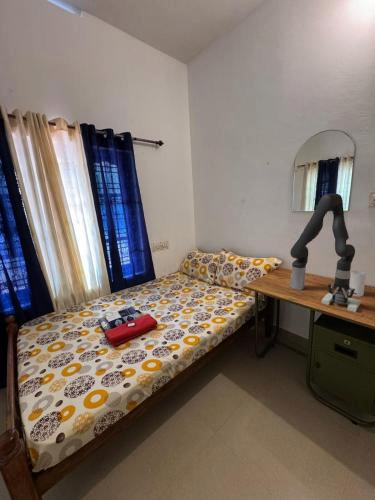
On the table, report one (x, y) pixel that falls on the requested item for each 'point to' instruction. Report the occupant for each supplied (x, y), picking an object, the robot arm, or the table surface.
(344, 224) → the robot arm
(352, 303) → the board
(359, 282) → the cup
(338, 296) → the grooved grey cylinder
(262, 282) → the table surface
